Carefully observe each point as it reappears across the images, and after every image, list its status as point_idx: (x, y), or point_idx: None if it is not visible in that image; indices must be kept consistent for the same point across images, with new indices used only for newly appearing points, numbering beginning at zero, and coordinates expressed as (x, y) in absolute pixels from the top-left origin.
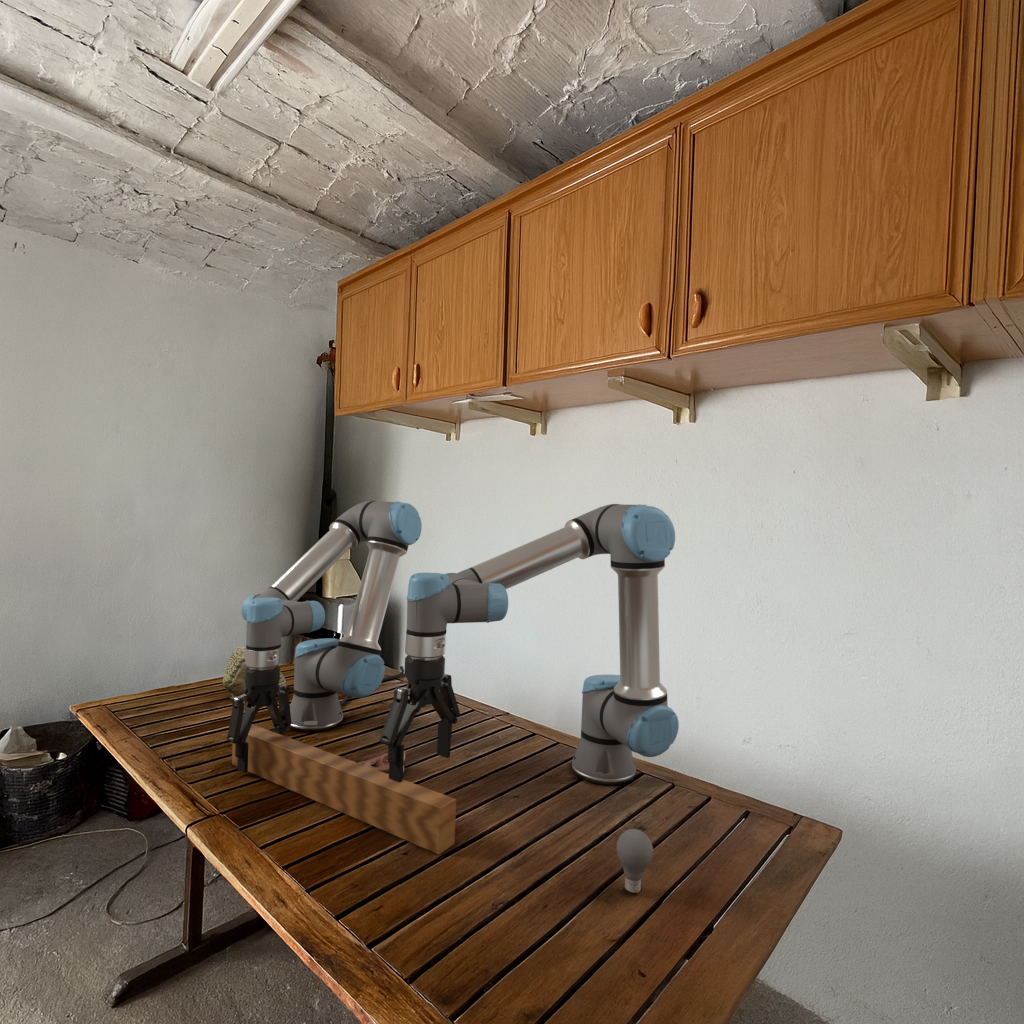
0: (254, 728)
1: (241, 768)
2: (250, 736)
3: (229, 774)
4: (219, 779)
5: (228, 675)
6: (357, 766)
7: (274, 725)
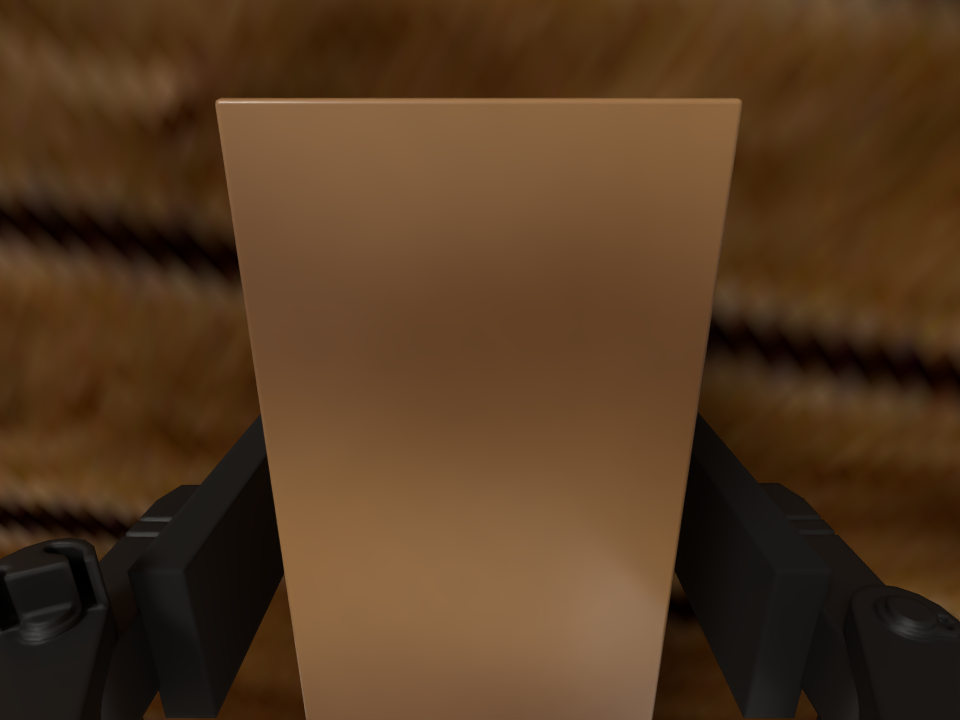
0: (558, 467)
1: None
2: (301, 662)
3: None
4: (151, 336)
5: None
6: None
7: (853, 670)
